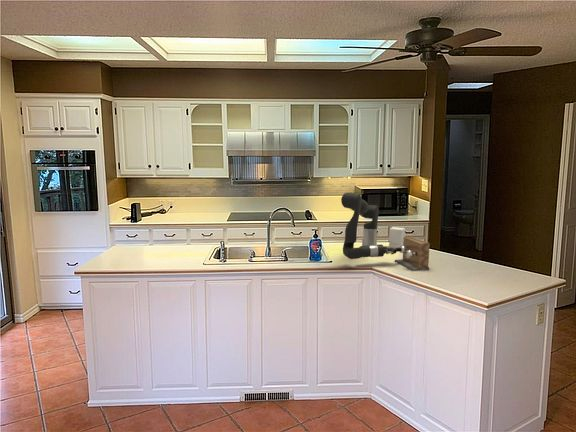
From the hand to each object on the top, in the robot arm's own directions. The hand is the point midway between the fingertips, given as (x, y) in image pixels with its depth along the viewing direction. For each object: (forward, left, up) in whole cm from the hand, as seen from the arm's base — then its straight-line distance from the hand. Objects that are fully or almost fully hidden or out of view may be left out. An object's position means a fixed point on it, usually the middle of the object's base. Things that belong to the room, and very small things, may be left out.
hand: (400, 249), depth 271 cm
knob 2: (+9, -8, -2) cm, 12 cm away
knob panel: (+7, -2, -9) cm, 12 cm away
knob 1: (+3, +3, -2) cm, 5 cm away
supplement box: (-11, +41, -9) cm, 43 cm away
